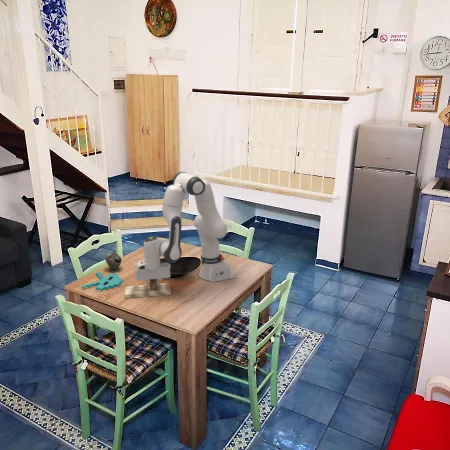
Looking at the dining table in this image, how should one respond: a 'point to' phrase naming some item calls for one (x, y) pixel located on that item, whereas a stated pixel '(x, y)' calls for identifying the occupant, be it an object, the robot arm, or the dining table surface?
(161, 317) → the dining table surface
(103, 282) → the alien figure
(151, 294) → the board
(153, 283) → the gauge
